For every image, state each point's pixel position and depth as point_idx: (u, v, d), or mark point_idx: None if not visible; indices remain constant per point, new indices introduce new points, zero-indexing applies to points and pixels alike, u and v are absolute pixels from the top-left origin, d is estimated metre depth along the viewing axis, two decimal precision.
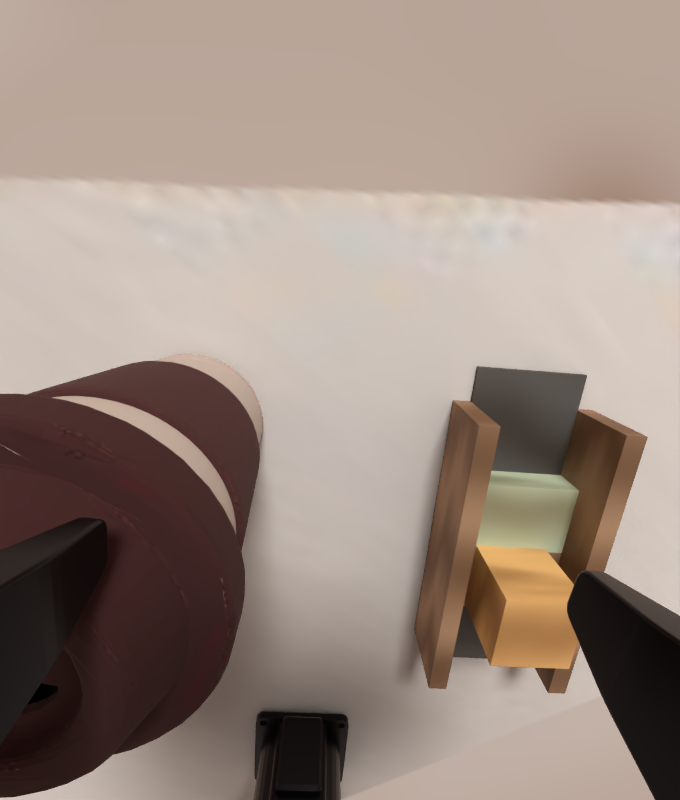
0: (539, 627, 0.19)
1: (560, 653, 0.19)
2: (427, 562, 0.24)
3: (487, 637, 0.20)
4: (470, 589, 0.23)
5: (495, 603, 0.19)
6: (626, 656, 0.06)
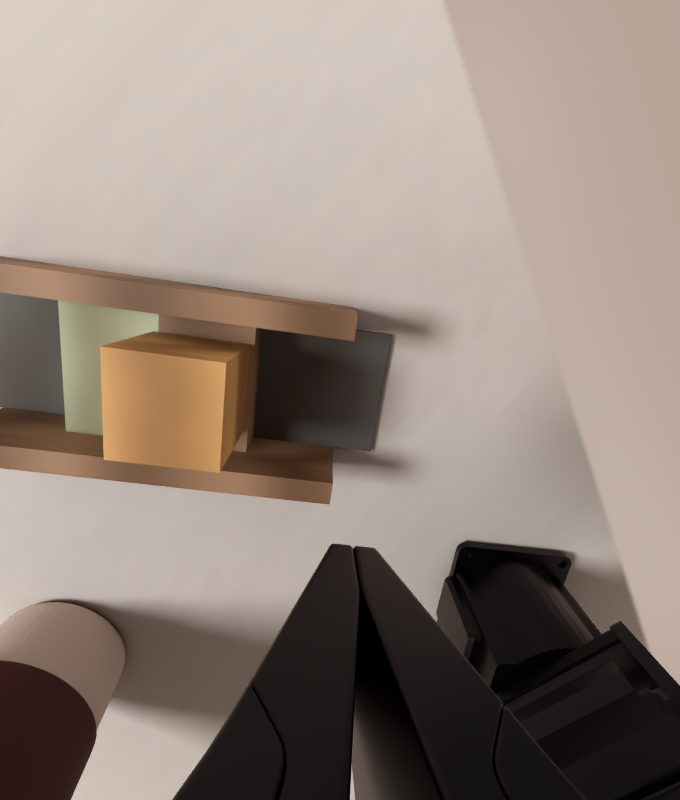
0: (148, 413, 0.13)
1: (195, 379, 0.13)
2: None
3: None
4: None
5: None
6: None
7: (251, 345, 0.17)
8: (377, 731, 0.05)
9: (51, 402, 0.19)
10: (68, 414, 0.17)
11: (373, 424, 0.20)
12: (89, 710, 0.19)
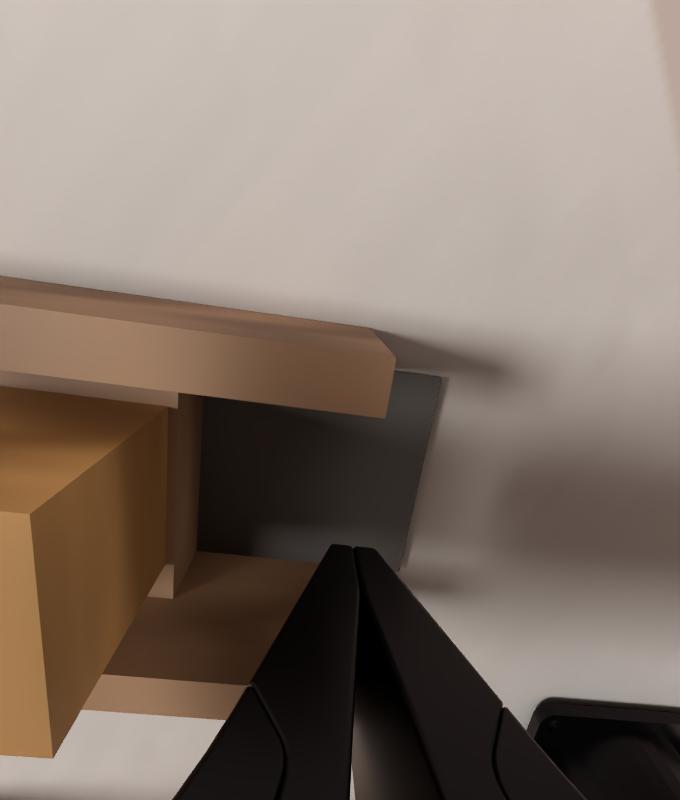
0: None
1: None
2: None
3: None
4: None
5: None
6: None
7: (171, 409, 0.08)
8: (377, 731, 0.05)
9: None
10: None
11: (405, 529, 0.11)
12: None
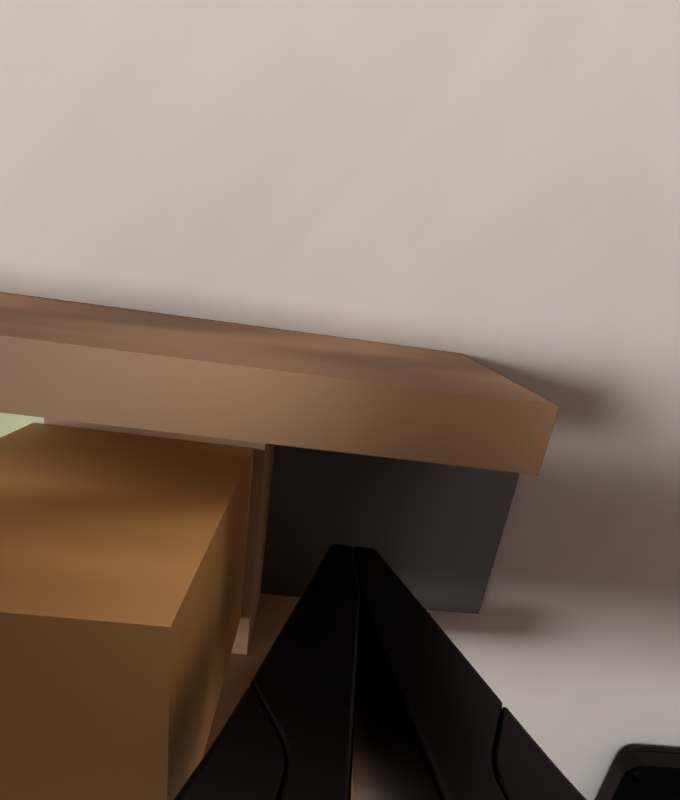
0: None
1: (63, 675, 0.04)
2: None
3: None
4: None
5: None
6: None
7: (257, 450, 0.07)
8: (377, 731, 0.05)
9: None
10: None
11: (488, 569, 0.10)
12: None
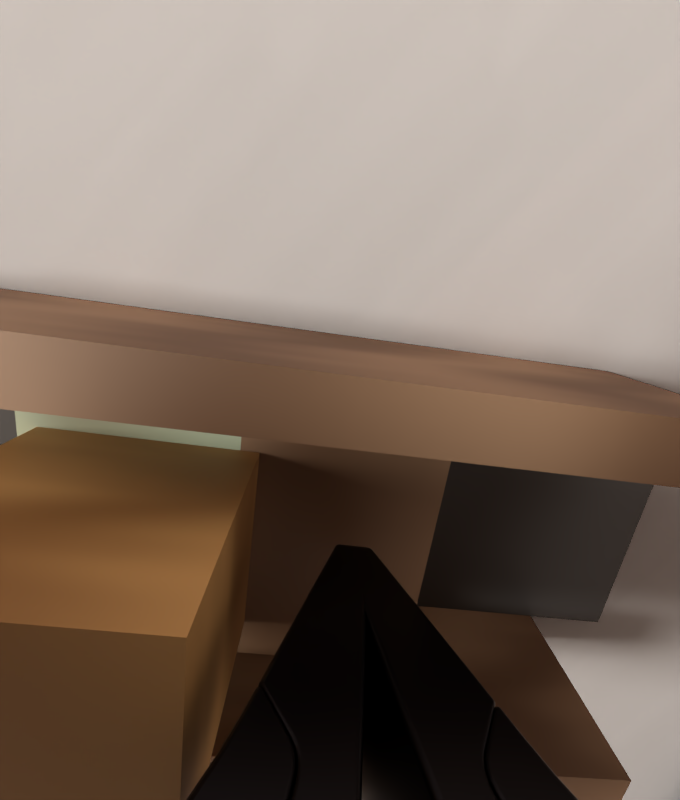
0: None
1: (78, 685, 0.04)
2: None
3: None
4: None
5: None
6: None
7: (442, 469, 0.08)
8: (370, 730, 0.05)
9: None
10: None
11: (611, 578, 0.11)
12: None
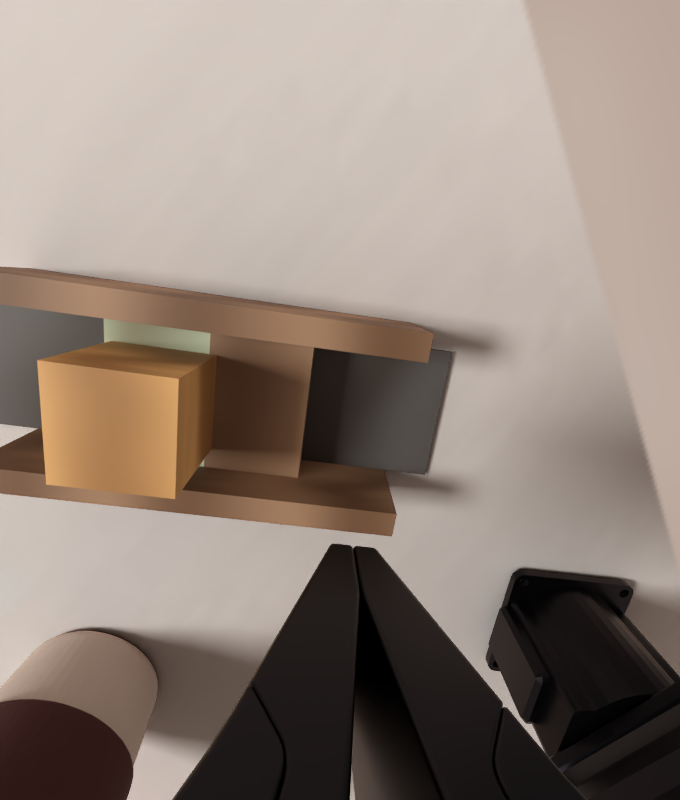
0: (94, 434, 0.12)
1: (144, 396, 0.12)
2: None
3: None
4: None
5: None
6: None
7: (308, 365, 0.16)
8: (377, 731, 0.05)
9: None
10: None
11: (428, 446, 0.19)
12: (126, 751, 0.18)
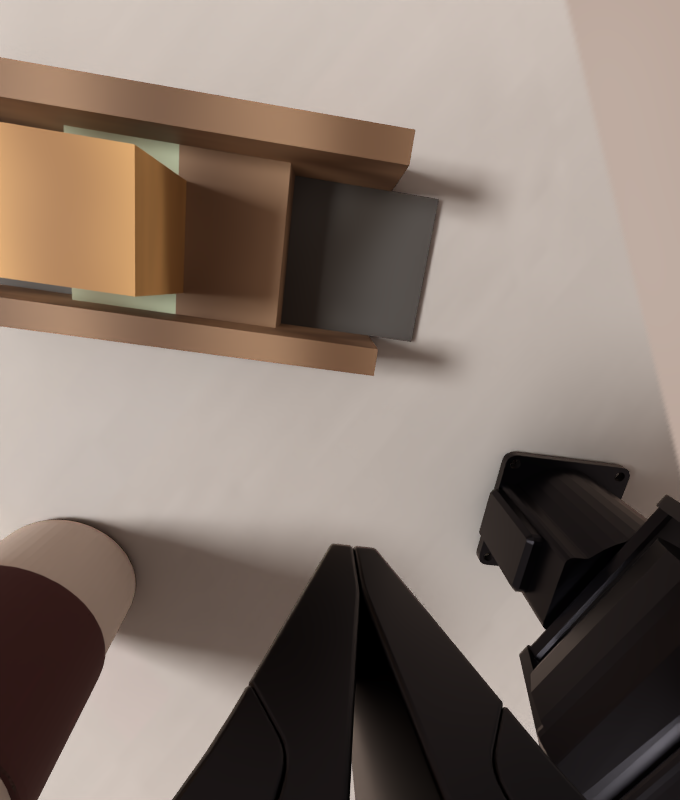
0: (44, 213, 0.11)
1: (98, 166, 0.11)
2: None
3: None
4: None
5: None
6: None
7: (284, 193, 0.15)
8: (377, 731, 0.05)
9: None
10: None
11: (415, 308, 0.18)
12: (97, 626, 0.17)
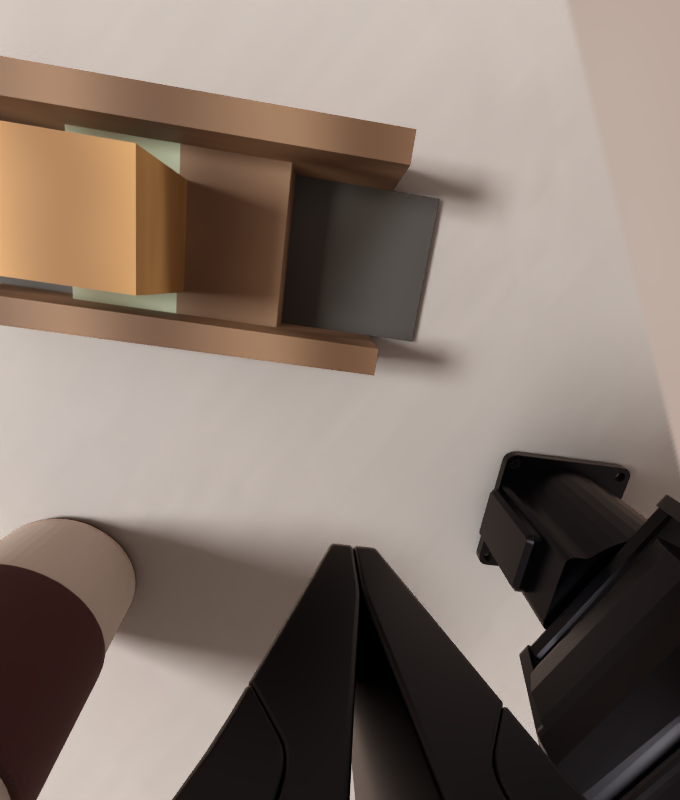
0: (45, 212, 0.11)
1: (99, 165, 0.11)
2: None
3: None
4: None
5: None
6: None
7: (285, 193, 0.15)
8: (377, 731, 0.05)
9: None
10: None
11: (415, 308, 0.18)
12: (97, 625, 0.17)
